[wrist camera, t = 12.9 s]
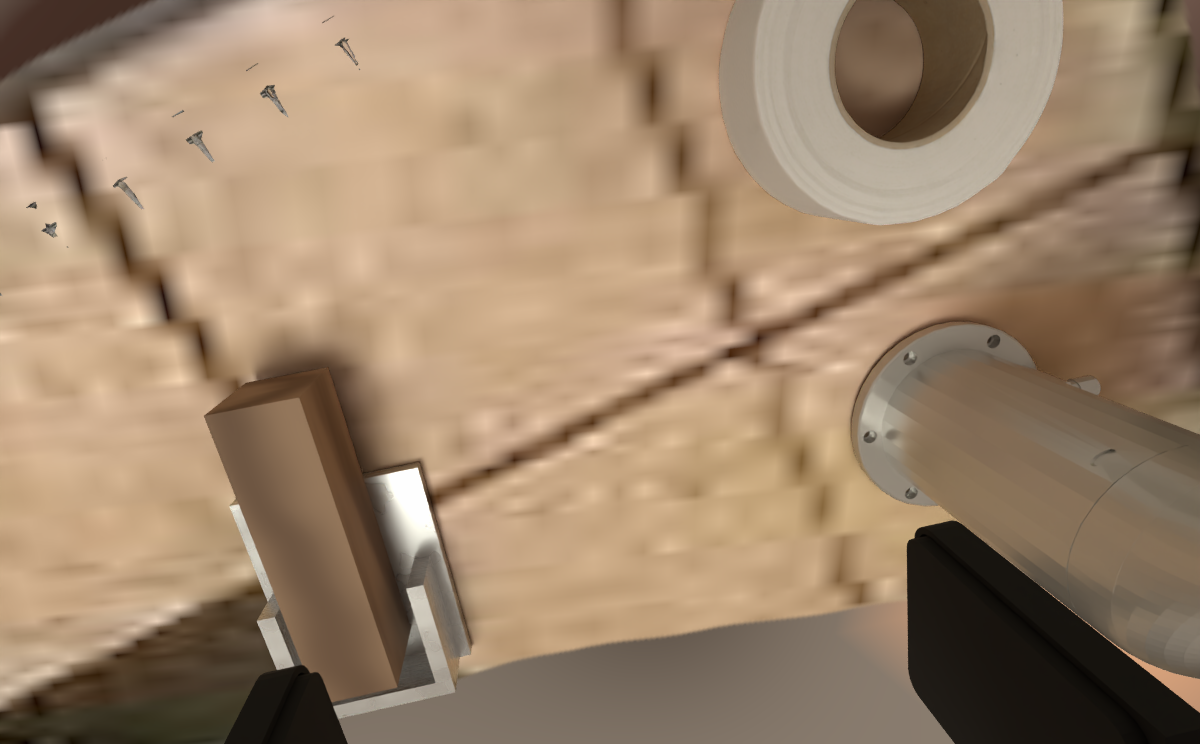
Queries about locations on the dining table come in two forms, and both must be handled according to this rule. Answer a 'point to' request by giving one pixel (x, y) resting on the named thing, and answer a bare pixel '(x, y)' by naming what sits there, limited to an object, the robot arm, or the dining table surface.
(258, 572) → the cup bracket
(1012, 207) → the dining table surface
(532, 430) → the dining table surface
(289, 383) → the walnut rail
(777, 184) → the roll of tape
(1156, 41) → the dining table surface
